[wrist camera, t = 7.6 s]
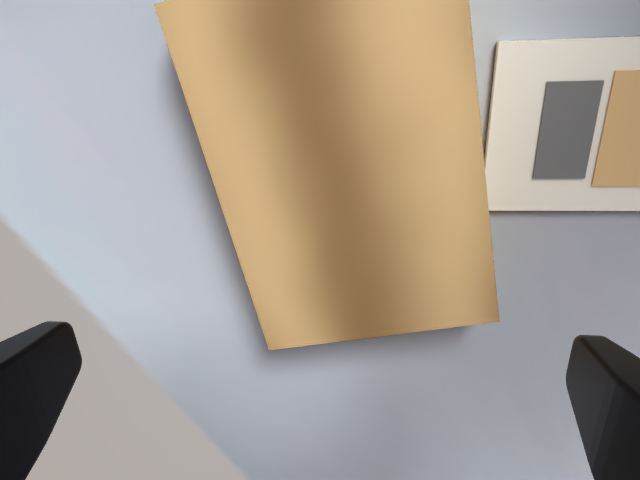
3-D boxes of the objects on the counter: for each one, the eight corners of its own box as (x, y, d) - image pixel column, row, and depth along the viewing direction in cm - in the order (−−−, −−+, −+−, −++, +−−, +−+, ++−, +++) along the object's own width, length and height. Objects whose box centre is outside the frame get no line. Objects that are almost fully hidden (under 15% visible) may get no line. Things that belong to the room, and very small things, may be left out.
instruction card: (757, 32, 16) (766, 33, 16) (702, 207, 18) (709, 212, 18) (496, 41, 17) (499, 42, 16) (479, 207, 19) (481, 211, 19)
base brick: (447, -67, 16) (461, -79, 13) (483, 280, 21) (499, 321, 19) (187, 3, 18) (153, 4, 15) (281, 309, 23) (269, 350, 20)
